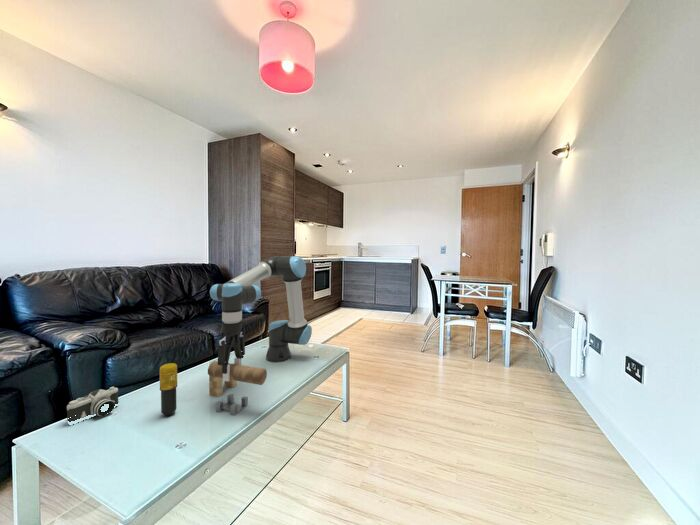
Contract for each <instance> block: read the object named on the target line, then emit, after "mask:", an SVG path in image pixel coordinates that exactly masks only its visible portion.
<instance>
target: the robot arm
mask: <svg viewBox="0 0 700 525" xmlns="http://www.w3.org/2000/svg"><path fill="white" fill-rule="evenodd" d="M306 271H307V266H306V263H305V260H304V259H303V258H302V257H300V256H293V255H291V256H288V255H287V256H285V255H284V256H279V255H278V256H272V257H270V258H267V259H264V260H262V261H260V262H258V263H257V265H256V266H255V267H253V268H251V269H249V270H247V271H246V272H243V273H242V274H240V275H238V276H236V277H234V278H232V279H230V280H229V281H226V282H224V283H216V284H214V285H212V286H211V287H210V290H209V295H210V298H211V299H212V300H214V301H218V302H221V321H222V323H221V331H222V333H223V336H222V338H221V339H218V340H217V346H218V348H217V349H218V350H217V362H218V365H221V366H222V373H223V379H222V382H223V381H228V382H229V381H230V365H228V363H229V362H230V356H231V351H232V349H233V351H234V356H235V358H233V360H234V361H233V364H237V365H242V359H243V358H244V356H245V355H246V348H245V347H246V346H245V345H246V343H245V335H246V332H244V331H242V329H243V321H242V320H243V305H246V304H250V303H254V302H256V301H258V300H260V298H261V297H262V291H261V288H260V287H259V286H258V285H256V284H257V283H258V282H260V281H262V280H263V279H269V278H271V277H281V278H282V282H283V283H285V289H286V299H287V306H288V307H287V308H288V316H289V320H287V319H282V320H281V319H280V320H275V321H272V322H270V323H269V326H268V349H267V351H266V354H265V360H266V361H267V362H270V363H283V362H287V361H289V360H291V358H292V353H291V350H290V347H289V344H293V345H299V346H300V345H301V346H302V345H303V346H306V345H307V344H308V343H309V342H310V340H311V337H312V333H313V332H312V331H313V328H312V326H311V325H309V324H308V320H307V319H305V312H304V303H303V292H302V283H301V282H302V280H303V279H304V277H305V276H306V273H307V272H306ZM288 359H289V360H288ZM286 360H287V361H286Z"/></svg>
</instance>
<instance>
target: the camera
mask: <svg viewBox="0 0 700 525" xmlns="http://www.w3.org/2000/svg"><path fill="white" fill-rule="evenodd" d="M118 403H119V388H118V387H115V386H111V387H109V389H101V388H98V389H96V390H92V391H90V393H89V394H88V395H85V396H83V397H78V398H76V399H75V400H71V401H69V402H68V404H67V405H66V413H67V414H66V415H67V421H69V422H71V421H75V420H77V419H80V418H84V417H86V416H88V415H94V414H96V415H97V416H96V417H103V416H102V415H105V414H107V413H109V412H111V411H112V412H113V411H114V409H115V408H114V406H115V404H118ZM104 404H109V408H108V410H107V411H105V412H101V410H100V409H101V407H102V406H104ZM112 412H111V413H112ZM109 414H110V413H109ZM75 415H76V416H75ZM70 417H71V418H70ZM68 418H69V419H68Z"/></svg>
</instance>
